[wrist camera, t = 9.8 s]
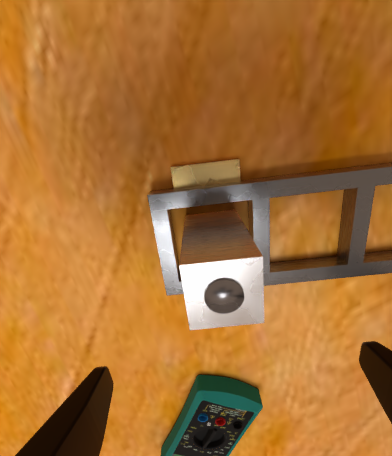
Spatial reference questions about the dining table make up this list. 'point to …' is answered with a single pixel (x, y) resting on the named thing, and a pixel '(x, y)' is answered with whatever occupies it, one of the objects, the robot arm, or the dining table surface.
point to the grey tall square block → (221, 271)
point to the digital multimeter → (213, 417)
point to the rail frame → (260, 224)
